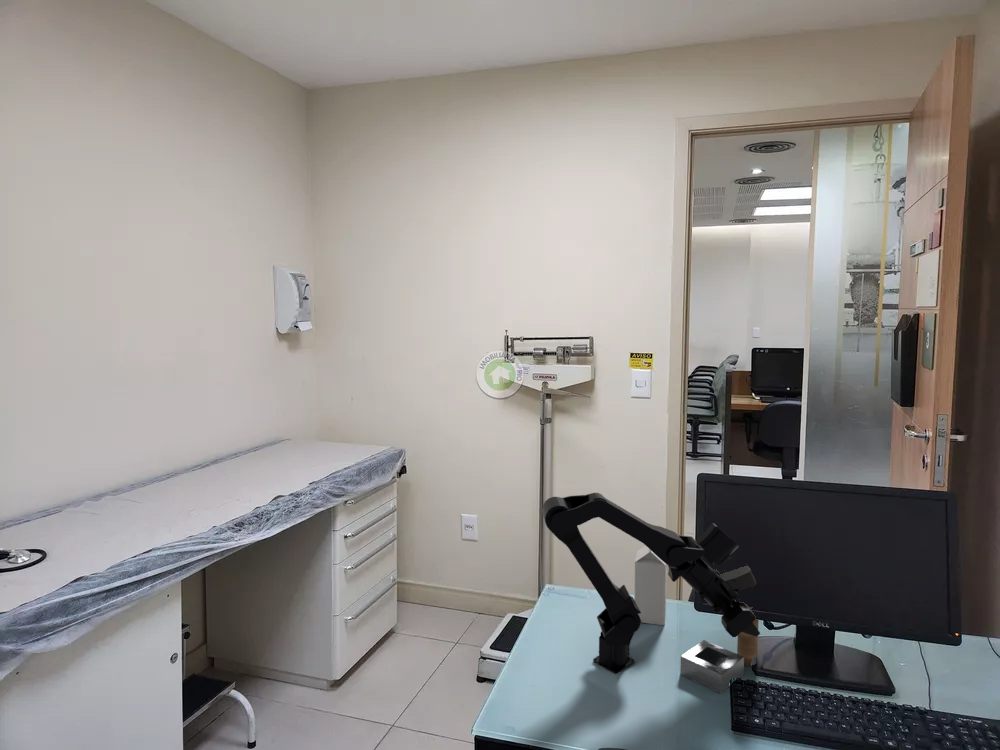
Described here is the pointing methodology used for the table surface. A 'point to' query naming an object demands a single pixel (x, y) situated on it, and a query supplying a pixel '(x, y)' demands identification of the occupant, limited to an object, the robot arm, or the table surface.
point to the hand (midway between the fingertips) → (754, 629)
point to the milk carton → (650, 586)
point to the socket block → (711, 666)
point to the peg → (748, 645)
